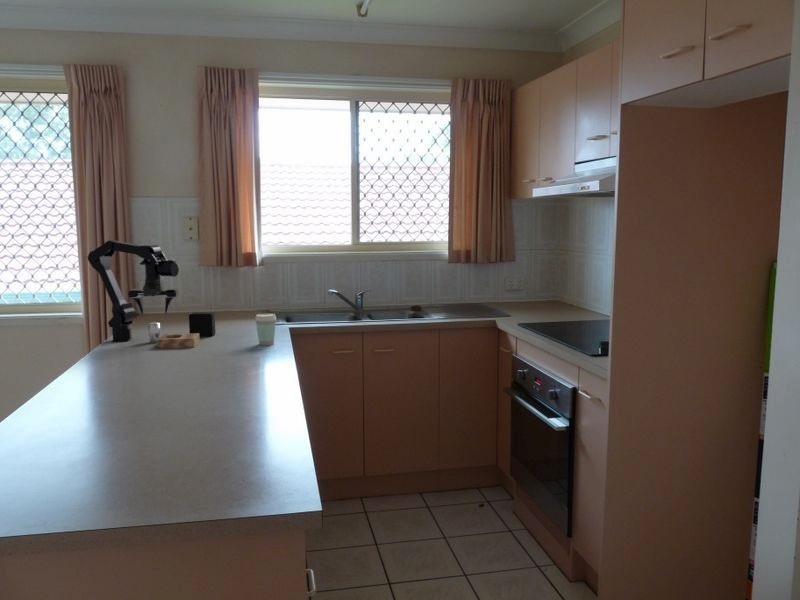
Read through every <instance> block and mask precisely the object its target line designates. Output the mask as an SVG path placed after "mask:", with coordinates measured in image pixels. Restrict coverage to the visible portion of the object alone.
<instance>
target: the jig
mask: <svg viewBox="0 0 800 600" xmlns="http://www.w3.org/2000/svg"><path fill="white" fill-rule="evenodd" d="M200 338H201V337H199V333H190V332H188V333H164V334H163V335H161V337H160V338H159V339H158V340H157V343H156V344H157V349H186V348H187V349H189V348H195V347H196V346H197V345H198V344H199V343H200V341H201V340H200Z"/></svg>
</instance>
